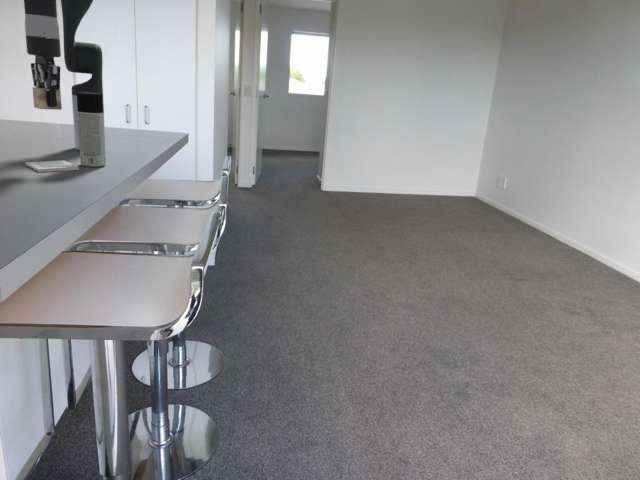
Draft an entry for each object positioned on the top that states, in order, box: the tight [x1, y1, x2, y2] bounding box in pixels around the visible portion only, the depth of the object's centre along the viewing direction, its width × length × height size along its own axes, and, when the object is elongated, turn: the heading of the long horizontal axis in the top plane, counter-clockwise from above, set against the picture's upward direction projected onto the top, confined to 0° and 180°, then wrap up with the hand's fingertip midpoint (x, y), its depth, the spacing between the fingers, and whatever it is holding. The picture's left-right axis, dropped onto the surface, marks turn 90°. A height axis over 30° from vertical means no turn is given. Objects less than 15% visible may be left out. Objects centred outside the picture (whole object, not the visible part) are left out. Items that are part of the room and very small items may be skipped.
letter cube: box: [32, 86, 63, 111], centre depth 130 cm, size 5×5×5 cm
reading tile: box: [25, 160, 80, 173], centre depth 135 cm, size 10×10×1 cm
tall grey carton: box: [77, 92, 107, 168], centre depth 140 cm, size 7×7×20 cm
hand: (48, 105), depth 131 cm, fingers closed on letter cube, 5 cm apart
